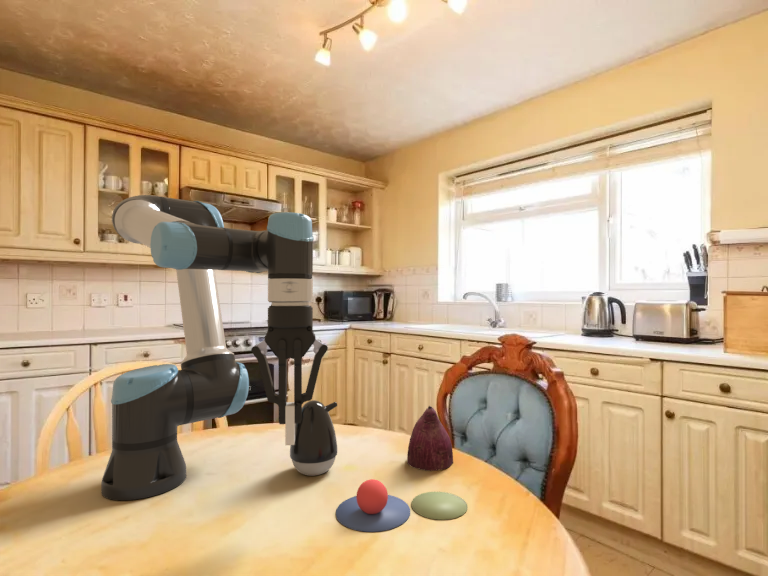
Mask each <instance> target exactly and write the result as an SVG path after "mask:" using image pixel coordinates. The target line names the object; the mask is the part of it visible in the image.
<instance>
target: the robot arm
mask: <svg viewBox="0 0 768 576" xmlns="http://www.w3.org/2000/svg"><path fill="white" fill-rule="evenodd" d="M111 224H112V227H113V228H114V229H113V230H115V232H116V233H117V234H118V236H120V237H121V238H122V239H124V240H126V241H128V242H130V243H132V244H139V245H144V246H146V247H147V248H149V249H150V254H151V257H152V259H153V260H152V261H153V263H154V264H155V265H156V266H157V267H160V268H163V269H166V268H168V269H173V270H175V271H176V278H177V279H176V280H177V285H178V288H177V289H178V295H179V304H180V312H181V318H182V325H183V333H184V343H185V349H186V350H185V351H186V356H185V357H184V359H182V361H181V362H180V368H181V369H179V368H178V367H177V365H176V364H172V363H166V364H165V363H164V364H157V365H156V364H155V365H149V366H144V367H140V368H135V369H132V370H129V371H127V372H124V373H122V374H120V375H119V376H117V377H116V378H115V379H114V382H113V384H112V392H111V393H112V394H111V399H110V404H111V440H112V442H111V453H110V456H109V459H108V462H107V465H106V466H105V470H104V473H103V476H102V479H101V493H100V494H101V496H103V497H104V498H106V499H108V500H112V501H113V500H114V501H133V500H139V499H141V500H142V499H146V498H150V497H153V496H157V495H161V494H164V493H167V492H168V491H171V490H173V489H175V488H177V487H179V486H180V485H181V484H182V483H184V482H185V480H186V479H187V463H186V461H185V458H184V456H183V453H182V450H181V448H180V445H179V442H178V427H179V426H184V425H187V424H192V423H198V422H203V421H207V420H212V419H217V418H218V419H221V418H224V417H226V416H230V415H234V414H236V413H238V412H239V411H240V410H241V409H242V408H243V407H244V405H245V403H246V400H247V398H248V395H249V387H250V379H249V373H248V370H247V368H246V366H245V364H244V363H241V362H238V361H236V356H235V353H234V352H232V351H231V350H230V349H228V348H227V345H226V336H225V331H224V324H223V323H224V322H223V318H222V312H221V311H222V310H221V303H220V298H219V290H218V284H217V279H216V272H215V271H229V272H230V271H232V272H233V271H234V272H246V273H251V274H252V273H255V274H259V273H261V274H262V273H263V272H267V301H268V302H269V303H271V304H270V305H269V306H268V307H267V331H266V334H265V335H264V340H262V341H260V342H259V343H257V344H254V345H253V346H252V347H251V350H250V351H251V353H252V355H254V357H255V359H256V360H257V362H258V363H257V364H258V367H259V371H260V375H261V379H262V384H263V388H264V392H265V396H266V400H267V402H269V403H270V404H271V403H274V404H276V405H277V407H278V423H279V425H285V426H284V428H285V429H284V430H285V435H284V437H285V446H290V445H294V444H295V424H296V423H301V420H302V407H303V405H304V404H305V403H307V402H309V401H312V399H313V395H314V393H315V388H316V383H317V380H318V375H319V370H320V367H321V363H322V359H323V357H324V356H325V354H326V353H327V351H328V348H329V347H328V345H327V343H323V342H321V341H320V340H319V339H317V338H316V333H315V332H314V328H313V327H314V325H313V322H314V321H313V320H314V319H313V317H314V315H313V314H314V312H313V311H314V309H313V308H314V307H312V305H310V303H312V302H313V300H314V296H313V294H314V292H313V291H314V289H313V288H314V286H313V285H314V282H313V281H314V280H313V273H314V272H313V268H314V267H313V266H314V265H313V263H314V257H313V256H314V240H315V239H314V236H313V221H312V218H311V217H310V216H309V215H307V214H304V213H299V212H291V211H289V212H288V211H287V212H286V211H285V212H284V211H282V212H281V211H280V212H273V213H271V214H270V215H269V217H268V221H267V226H266V230H251V229H250V230H247V229H240V228H230V227H225V225H224V221H223V217H222V214H221V212H220V211H219V209H217V207H216V206H214V205H213V204H211V203H207V202H202V201H199V200H193V201H192V200H187V199H179V198H172V197H167V196H159V195H155V194H154V195H153V194H152V195H151V194H141V195H140V194H139V195H134V196H130V197H127V198H125V199H123V200H121V201H120V202H118V203H117V204H116V206H114V209H113V211H112V214H111ZM312 346H313V349H312V350H313V353H314V357H313V360H312V365H311V369H310V373H309V376H308V381H307V386H306V389H305V392H303V391H302V390H303V387H302V384H303V382H302V381H303V374H302V371H303V370H302V369H303V368H302V367H303V366H302V365H303V357H304V356H305V355H306V354H307V353H308V351H309V350H310V349H311V347H312ZM267 347H269V349H270V350H271V351H272V353H273V354H274V355H275V358H277V361H278V362H277V363H278V365H277V366H278V387H277V388H278V391H277V392H278V394H277V393H276V390H275V385H274V381H273V379H272V375H271V374H272V373H271V370H270V365H269V361H268V358H267V356H266V355H267V352H268V349H267ZM289 359H292V360H293V367H294V368H293V370H294V371H293V375H294V377H293V386H294V387H293V394H294V395H293V400H294V401H292V402H291V401H290V402H288V401H287V400H288V399H287V398H288V397H287V395H288V394H287V393H288V392H287V387H288V385H287V383H288V378H287V374H288V373H287V370H288V369H287V368H288V367H287V366H288V363H287V362H288V360H289Z"/></svg>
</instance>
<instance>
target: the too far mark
mask: <svg viewBox="0 0 768 576" xmlns="http://www.w3.org/2000/svg"><path fill="white" fill-rule="evenodd" d="M410 503H411V508H412V510H413V511H414V512H415V513H416V514H418V515H419V516H421V517H424V518H426V519H431V520H439V521H442V520H443V521H446V520H447V521H448V520H454V519H457V518H460V517H462V516H463V515H465V513H467V511H468V503H467V502H466V500H465V499H464V498H462V497H461V496H458V495H456V494H454V493H452V492H451V493H450V492H446V491H427V492H423V493H420V494H417V495H416V496H415V497H413V498H412V500H411V502H410Z"/></svg>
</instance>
